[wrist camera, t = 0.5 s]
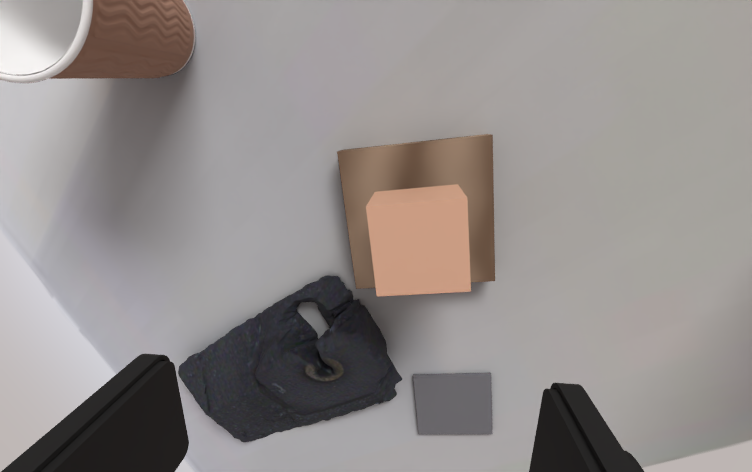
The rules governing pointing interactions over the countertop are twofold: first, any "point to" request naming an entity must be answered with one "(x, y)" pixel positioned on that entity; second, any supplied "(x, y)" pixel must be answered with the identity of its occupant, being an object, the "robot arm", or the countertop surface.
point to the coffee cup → (93, 39)
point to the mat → (453, 403)
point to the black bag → (293, 366)
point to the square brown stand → (416, 170)
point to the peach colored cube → (420, 240)
